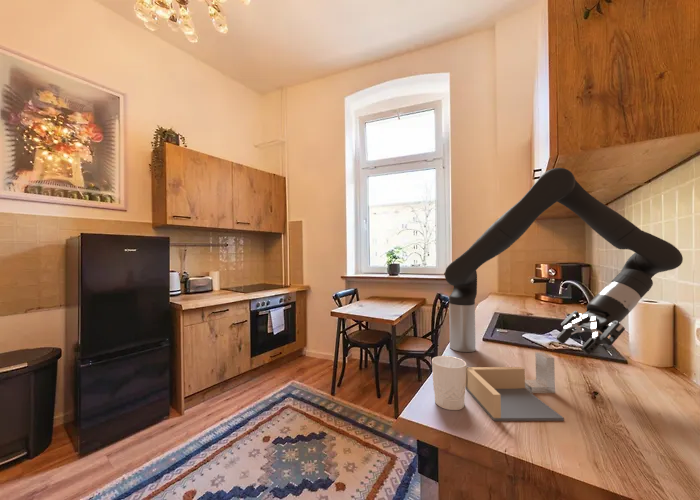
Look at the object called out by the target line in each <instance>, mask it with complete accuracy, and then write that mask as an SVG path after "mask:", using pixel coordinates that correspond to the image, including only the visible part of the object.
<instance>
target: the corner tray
mask: <svg viewBox="0 0 700 500" xmlns="http://www.w3.org/2000/svg"><path fill="white" fill-rule="evenodd" d="M525 373H526V370H525V368H523V367H522V366H495V367H494V366H487V367H483V366H478V367H477V366H472V367H471V366H469V367H467V366H466V387H465V390H466V391H467V392H468V393H469V394H470V395H471V396H472V398H473V399H474V400H475V401H476V402H477V403H478V404H479V405H480V407H481V408H482V409H483V410H484V411H485V412H486V413H487V415H488V416H489V417H490V418H491V419H492V420H493V421H494V422H537V421H539V422H546V421H547V422H548V421H549V422H550V421H551V422H553V421H554V422H555V421H556V422H559V421H560V422H562V421H565V418H564V417H563V416H562V415H561V414H559V413H558V412H557V411H555V410H554V409H553V408H551V407H550V406H549V405H547V403H545V402H543V401H542V400H541V399H540V398H538V396H536V395H535V394H534V393H531V392H530V391H528V390H527V389H526V388H525V380H526V374H525Z"/></svg>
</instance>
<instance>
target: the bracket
mask: <svg viewBox="0 0 700 500" xmlns="http://www.w3.org/2000/svg"><path fill="white" fill-rule="evenodd" d="M555 374H556V373H555V357H553V356H552V355H549V354H547V353H545V352H544V351H535V379H525V389H526V390H528V391H529V392H530V393H532V394H555V393H556V377H555V376H556V375H555Z"/></svg>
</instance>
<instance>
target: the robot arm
mask: <svg viewBox="0 0 700 500" xmlns="http://www.w3.org/2000/svg"><path fill="white" fill-rule="evenodd" d="M555 203H559V204H561V205H562V206H564V207H566V208H567V209H569V210H570V211H571V212H573V213H574V214H575V215H577V216H578V217H579V218H580V219H581V220H582V221H583V222H584V223H586V225H588V226H589V228H591V229H592V230H593V231H594V232H595V233H596V234H598V235H599V236H600V237H601V238H602V239H604V240H605V241H607V242H608V243H609V244H611V246H613V247H614V248H616V249H618V250H629V251H632V252H634V253H633V254H631V256H629V258H628V259H627V260H626V262H625V263H624V264H623V266H622V269H621V270H620V272H618V274H617V275H616V276H615V277H614V278H613V279H612V280H611V281H610V282H609V283H608V284H607V285H605V286H604V287H602V289H601V290H599V292H598V293H597V294H596V295H595V296H594V297H592V299H591V300H590V301H589V302H588V303H587V305H586V306H585V307H586V311H585V312H584V313H579V311H577V310H574V311H572V312H571V313H570V314H569V315H567V317H566V318H564V319H563V320H562V322H561V323H560V325H561V327H562V328H563V329H562V331H561V332H560V333H559V334H558V335H556V338H555V339H556V340H557V341H558V342H559V343H560V344H562V345H564V344H565V343H566V342H567V341H568V340H569V339H570V338H571V337H572V336H573V335H574V334H577V333H583V332H586V333H591V334H592V335H591V337H589V338H588V339H587V340H586V341H585V343H583V345H581V346H580V350H581V351H582V352H583V353H585V354H586V355H591V354H592V353H594V351H595V350H597V348H599V346H602V345H606V346H613V344H614V343H615V342H616V341H617V340H618V338H619V337H620V336H621V335H622V333H623V332H624V331H625V330H626V328H625V327H624V326H623V325H622V324H621V322H622V321H623V320H624V319H625V318H626V317H627V316H629V314H630V312H632V311H633V310H634V309H635V307H636V306H637V305H638V304H639V302H640V301H641V299H642V298H643V297H644V296H645V295H646V294H647V293H649V291H650V290H651V288H652V287H653V285H654V281H653V279H652V278H653V277H654V276H655V275H657V274H659V273H663V272H664V273H665V272H667V271H673V270H675V269H677V268H679V267H680V266H681V265H682V263H683V259H684V258H683V254H682V252H681V251H680V250H679V248H677V246H675V245H674V244H672V243H671V242H669V241H666V240H664V239H662V238H660V237H658V236H656V235H653V234H652V233H649V232H648V231H647V232H646V231H644V230H642V229H640V228H639V227H638V226H636V225H635V224H634V223H632V222H631V221H630V220H629V219H627V218H626V217H624V216H623V215H622V214H620V213H619V212H618V211H615V210H613V208H611V207H609V206H607V205H606V204H604V203H603V202H601V201H599V200H598V199H597V198H595V197H594V196H593V195H591V194H590V193H589V192H588V191H587V190H585V189H584V187H582V185H581V184H580V183H579V182H578V181H577V179H576V177H575V176H574V174H573V172H572V171H570V170H569V169H567V168H563V167H554V168H551V169H548V170H546V171H545V172H543V174H541V176H539V178H538V179H537V181H535V183H534V184H533V186H532V187H531V188H530V189H529V190H528V191H527V192H526V193H525V195H524V196H523V197H522V198H521V199H520V200H518V201H517V203H516V204H514V205H513V206H511V207H510V208H509V209H508V210H507V211H505V212H504V213H503V214H502V215H501V216H500V217H499V218H497V220H495V221H494V222H493V223H492V224H491V225H490V226H489V227H488V228H487V229H486V230H485V231H484V233H482V235H481V236H479V237H478V238H477V239H476V240H475V242H473V243H472V245H471V246H470V247H469V248H468V249H467V250H466V251H464V252H463V253H462V254H461V255H460V256H458V257H457V258H455V260H453V261H452V262H451V263H449V265H447V267H446V268H445V272H444V279H445V281H446V282H447V283H448V284H449V285H451V286H453V288H452V289H453V290H452V291H451V293H450V294H449V297H448V311H449V316H448V317H449V322H448V323H449V348H450V349H451V350H453V351H456V352H461V353H471V352H472V353H473V352H475V351H476V348H477V347H476V298H477V293H478V271H477V270H478V269H479V268H480V267H481V266H482V265H484V264H485V263H487V262H489V261H490V260H492V259H493V258H496V257H497V256H499V255H500V254H502V253H504V252H505V251H506V250H508V249H509V248H510V247H511V246H512V245H513V244H514V243H515V242H517V241H518V240H519V239H520V238H521V237H522V236H523V235H524V234H525V233H526V232H527V231H528V229H529V228H530V227H531V226H532V225H533V223H534V222H535V221H536V219H538V218H539V217H540V216H541V215H542V214H543V213H544V212H545V211H547V210H548V209H549V208H550V207H552V206H553V205H555ZM608 337H609V338H608Z"/></svg>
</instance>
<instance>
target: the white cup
mask: <svg viewBox="0 0 700 500" xmlns="http://www.w3.org/2000/svg"><path fill="white" fill-rule="evenodd" d="M466 367H467V362H466V361H465V360H464V359H462V358H458V357H455V356H450V355H438V356H434V357H432V359H431V368H432V369H431V370H432V385H433V392H434V393H433V394H434V403H435V404H436V405H437V406H439V407H440V408H442V409H444V410H448V411H458V410H463V408H464V407H465V394H466Z"/></svg>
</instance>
